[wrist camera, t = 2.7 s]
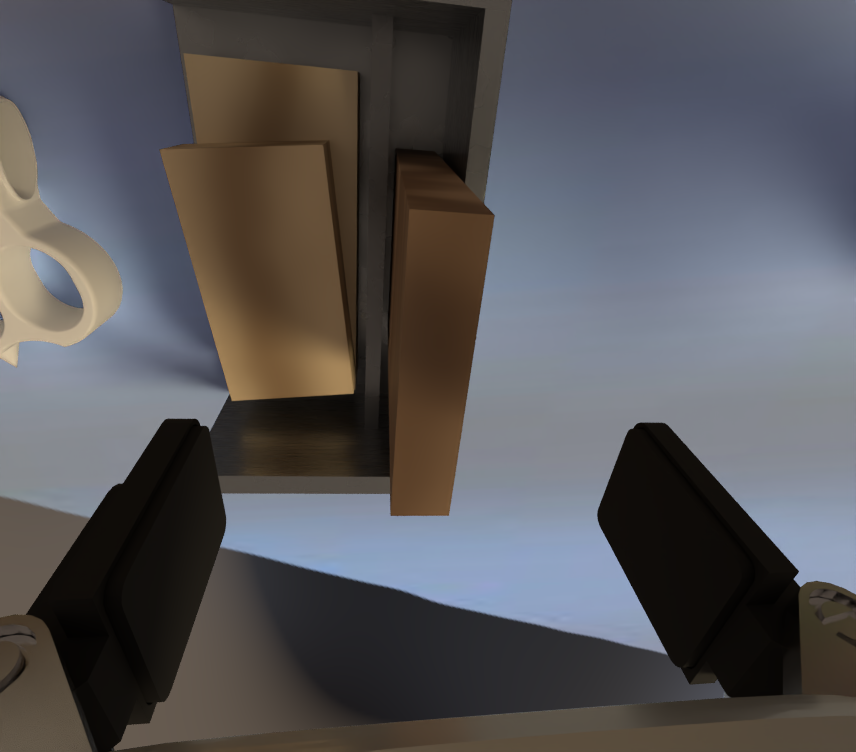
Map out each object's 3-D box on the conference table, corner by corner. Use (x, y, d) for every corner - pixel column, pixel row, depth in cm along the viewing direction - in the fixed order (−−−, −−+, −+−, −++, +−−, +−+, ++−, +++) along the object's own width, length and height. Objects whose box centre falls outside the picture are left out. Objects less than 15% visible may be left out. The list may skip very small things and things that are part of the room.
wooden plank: (434, 151, 24) (494, 215, 11) (419, 329, 29) (448, 515, 16) (395, 147, 23) (409, 209, 11) (387, 327, 29) (390, 515, 16)
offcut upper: (329, 139, 21) (323, 144, 19) (356, 370, 27) (353, 393, 25) (182, 143, 20) (159, 149, 18) (244, 376, 27) (231, 401, 24)
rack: (469, 10, 22) (517, -39, 14) (429, 399, 33) (443, 493, 25) (177, -26, 20) (48, -103, 12) (239, 394, 31) (191, 493, 24)
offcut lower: (360, 73, 22) (357, 71, 20) (357, 369, 30) (355, 390, 28) (203, 57, 21) (183, 53, 19) (244, 365, 29) (233, 386, 27)
